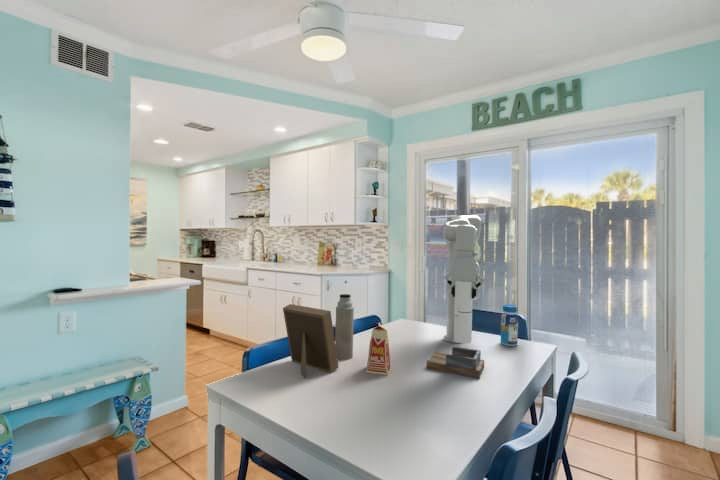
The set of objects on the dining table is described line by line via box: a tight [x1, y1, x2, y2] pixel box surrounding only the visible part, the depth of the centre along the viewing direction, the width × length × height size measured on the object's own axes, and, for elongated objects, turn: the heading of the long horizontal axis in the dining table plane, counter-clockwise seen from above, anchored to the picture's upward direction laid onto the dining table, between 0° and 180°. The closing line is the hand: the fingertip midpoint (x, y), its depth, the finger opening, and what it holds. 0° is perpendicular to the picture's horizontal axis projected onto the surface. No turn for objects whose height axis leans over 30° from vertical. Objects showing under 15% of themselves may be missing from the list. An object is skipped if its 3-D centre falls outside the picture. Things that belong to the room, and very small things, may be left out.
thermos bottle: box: [334, 293, 355, 361], centre depth 162 cm, size 8×8×28 cm
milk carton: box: [365, 322, 392, 376], centre depth 147 cm, size 9×9×20 cm
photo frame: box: [282, 303, 339, 379], centre depth 145 cm, size 15×22×25 cm
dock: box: [426, 346, 485, 379], centre depth 151 cm, size 14×21×7 cm, turn 64°
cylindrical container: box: [454, 281, 474, 345], centre depth 149 cm, size 7×7×25 cm
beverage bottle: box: [500, 304, 519, 347], centre depth 187 cm, size 8×8×20 cm
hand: (463, 297), depth 149 cm, fingers closed on cylindrical container, 7 cm apart
